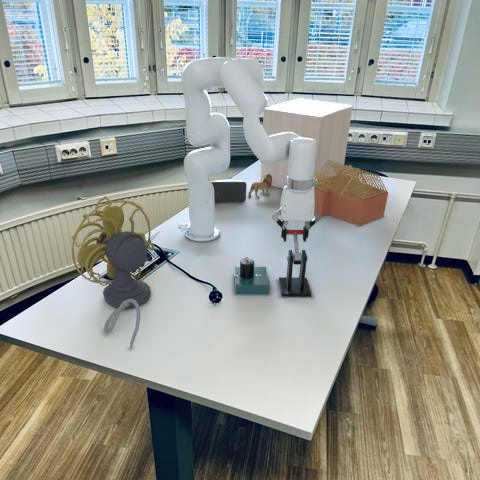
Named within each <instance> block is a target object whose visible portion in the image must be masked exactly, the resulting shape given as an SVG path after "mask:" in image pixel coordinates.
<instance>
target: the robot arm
mask: <svg viewBox="0 0 480 480" xmlns="http://www.w3.org/2000/svg"><path fill="white" fill-rule="evenodd" d="M180 78H181V79H180V83H181V89H182V93H183V98H184V109H185V110H184V113H185V130H186V137H187V138H186V139H187V141H188V143H189V144H190V146H191V145H192V147H203V146H208V145H209V146H208V147H203V148H199V149H195V150H191V151H190V152H189V153H187V155H186V156H185V157H184V158H183V168H184V173H185V177H186V182H187V183H186V184H187V198H188V199H187V200H188V217H189V218H188V219H189V220H188V222H186V223H178V224H177V229H178V230H180V232H185V236H186V238H187V239H189V240H191V241H194V242H210V241H213V240H215V239H217V238H218V237H219V236H220V232H219V229H217V228H216V222H215V221H216V218H215V217H216V216H215V213H216V210H215V203H214V187H213V185H212V183H211V182H212V181H211V179H210V177H212V176H215V175H218V174H222V173H224V172H226V171H227V170H228V169H229V167H230V164H231V128H230V127H231V126H230V124H229V121H228V119H227V117H226V116H225V115H223V114H222V113H220V112H212V103H211V99H210V97H209V96H210V95H209V94H208V92H207V90H212V89H221V88H224V89H225V91H226V92H227V94H228V95H229V97H230V98H231V100H232V102H233V103H234V104H235V106H236V107H237V109H238V110H239V112H240V113H241V115H242V117H243V122H242V126H243V127H242V129H243V135H244V139H245V141H246V143H247V146H248V147H249V148H250V150H251V151H252V153H253V154H254V156H255V157H256V158H257V159H258V160H259V161H260V163H261V162H263V163H265V164H273V163H277V162H280V161H284V160H289V161H288V174H287V185H285V186H284V188H282V192H281V198H280V203H279V208H278V209H277V210H276V211H275V212H274V213H273V214H272V216H271V219H272V220H273V221H274V222H275V223H276V224H277V225H278V226H279V227H280V229H281V234H280V236H281V237H280V238H281V239H282V240H283V242H284V243H286V242H287V236H288V235H287V230H288V228H287V226H288V224H289V222H304V226H303V229H302V230H304V235H301V236H302V242H304V243H306V242H307V239H309V235H310V230H311V228H313V226H314V225H316V224H317V223H318V222H320V221H321V220H322V216H320V215H319V214H318V213H317V211H316V210H315V209H314V206H315V194H314V187H313V185H314V184H317V183H318V179H314V178H313V175H314V165H315V156H316V146H317V145H316V142H315V141H314V140H313V139H310V138H302V137H300V136H298V135H296V134H294V133H291V132H284V133H280V134H275V135H271V136H268V134H267V133H266V132H265V130H264V129H263V124H262V123H261V121H260V115H262V113H264V109H265V108H267V107H268V103H269V102H268V101H269V99H268V97H267V95H266V94H265V92H264V91H263V90H262V88H261V86H262V84H263V83H264V80H265V70H264V67H263V65H262V64H261V62H260V61H259V60H258V59H256V58H254V57H237V56H219V57H218V56H217V57H205V58H197V59H193V60H190V61H189V62H187V63H186V65H185V66H184V68H183V69H182V72H181V77H180ZM279 217H280V218H279Z"/></svg>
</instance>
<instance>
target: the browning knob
mask: <svg viewBox="0 0 480 480" xmlns="http://www.w3.org/2000/svg"><path fill="white" fill-rule="evenodd" d="M239 267H240V277H242V278H244V279H250V278H252V277H253V276H254V267H255V260H254V258H250V257H248V256H246V257H243V258H241V259H240V261H239Z"/></svg>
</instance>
